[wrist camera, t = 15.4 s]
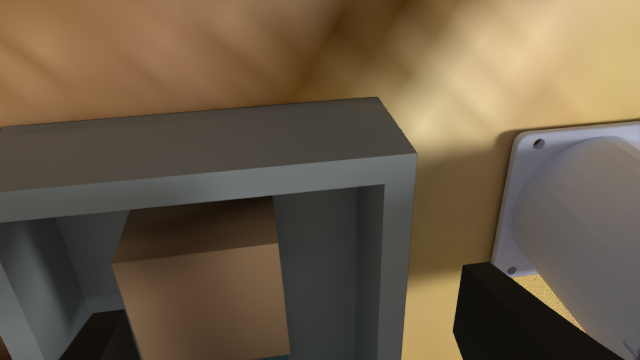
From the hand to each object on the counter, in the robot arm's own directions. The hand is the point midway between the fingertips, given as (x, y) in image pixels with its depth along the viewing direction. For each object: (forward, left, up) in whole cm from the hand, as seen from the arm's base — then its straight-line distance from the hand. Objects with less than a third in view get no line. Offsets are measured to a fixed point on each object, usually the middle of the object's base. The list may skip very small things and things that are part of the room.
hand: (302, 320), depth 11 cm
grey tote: (+3, +8, -10) cm, 13 cm away
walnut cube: (+3, +4, -10) cm, 11 cm away
